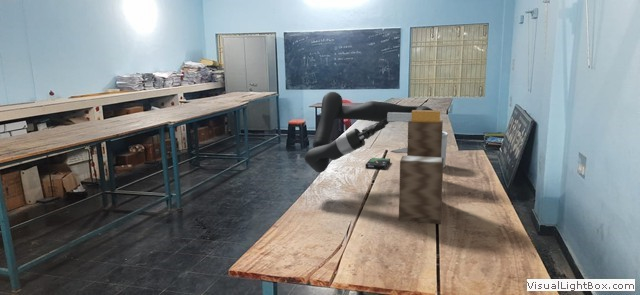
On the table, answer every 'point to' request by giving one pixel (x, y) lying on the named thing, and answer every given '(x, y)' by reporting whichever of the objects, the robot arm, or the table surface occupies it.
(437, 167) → the zigzag patterned block
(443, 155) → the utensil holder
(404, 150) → the paper plane
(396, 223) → the table surface
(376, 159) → the disk drive
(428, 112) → the bar
